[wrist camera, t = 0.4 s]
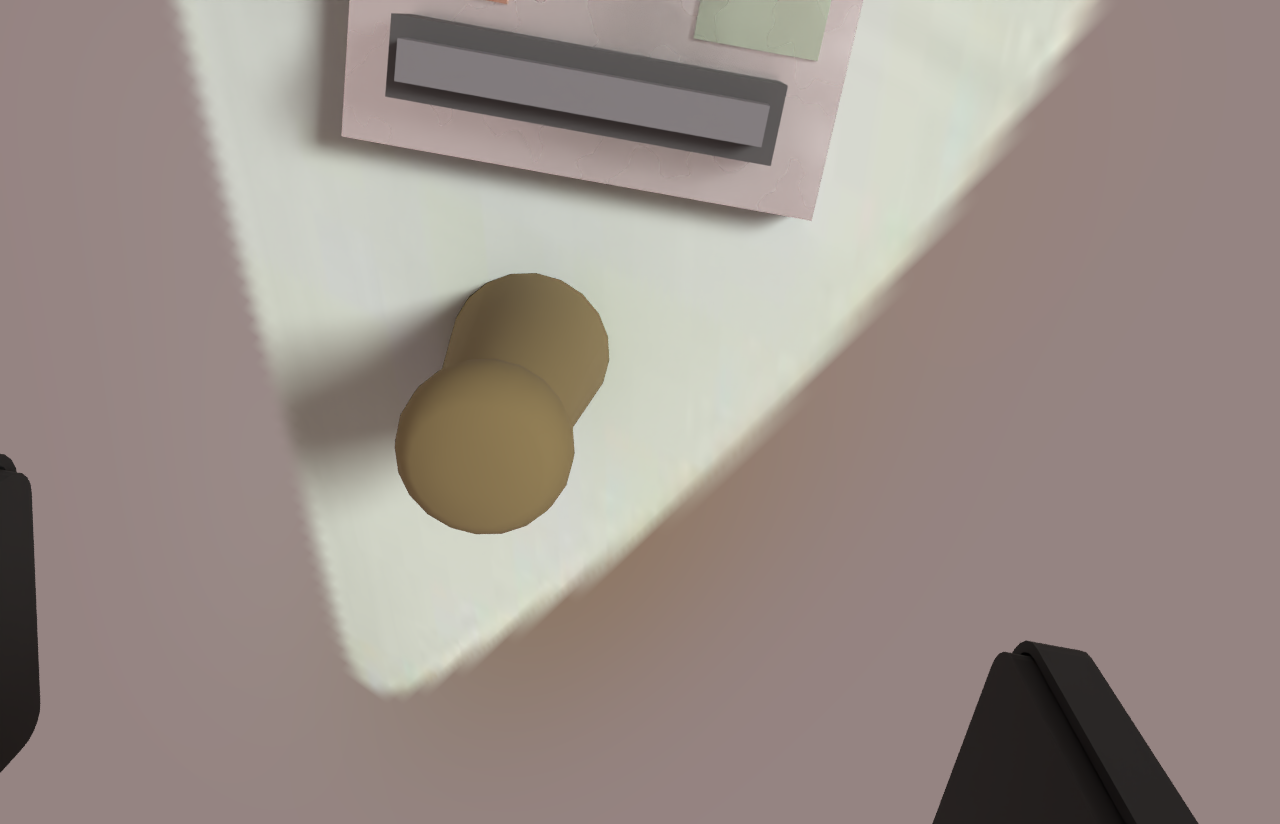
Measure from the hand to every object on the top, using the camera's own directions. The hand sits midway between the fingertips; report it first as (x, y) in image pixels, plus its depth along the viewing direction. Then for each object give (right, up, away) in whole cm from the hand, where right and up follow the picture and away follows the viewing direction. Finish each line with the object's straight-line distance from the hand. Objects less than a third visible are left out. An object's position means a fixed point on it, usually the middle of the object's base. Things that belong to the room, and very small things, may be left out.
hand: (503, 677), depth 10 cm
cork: (-3, +5, +29) cm, 29 cm away
